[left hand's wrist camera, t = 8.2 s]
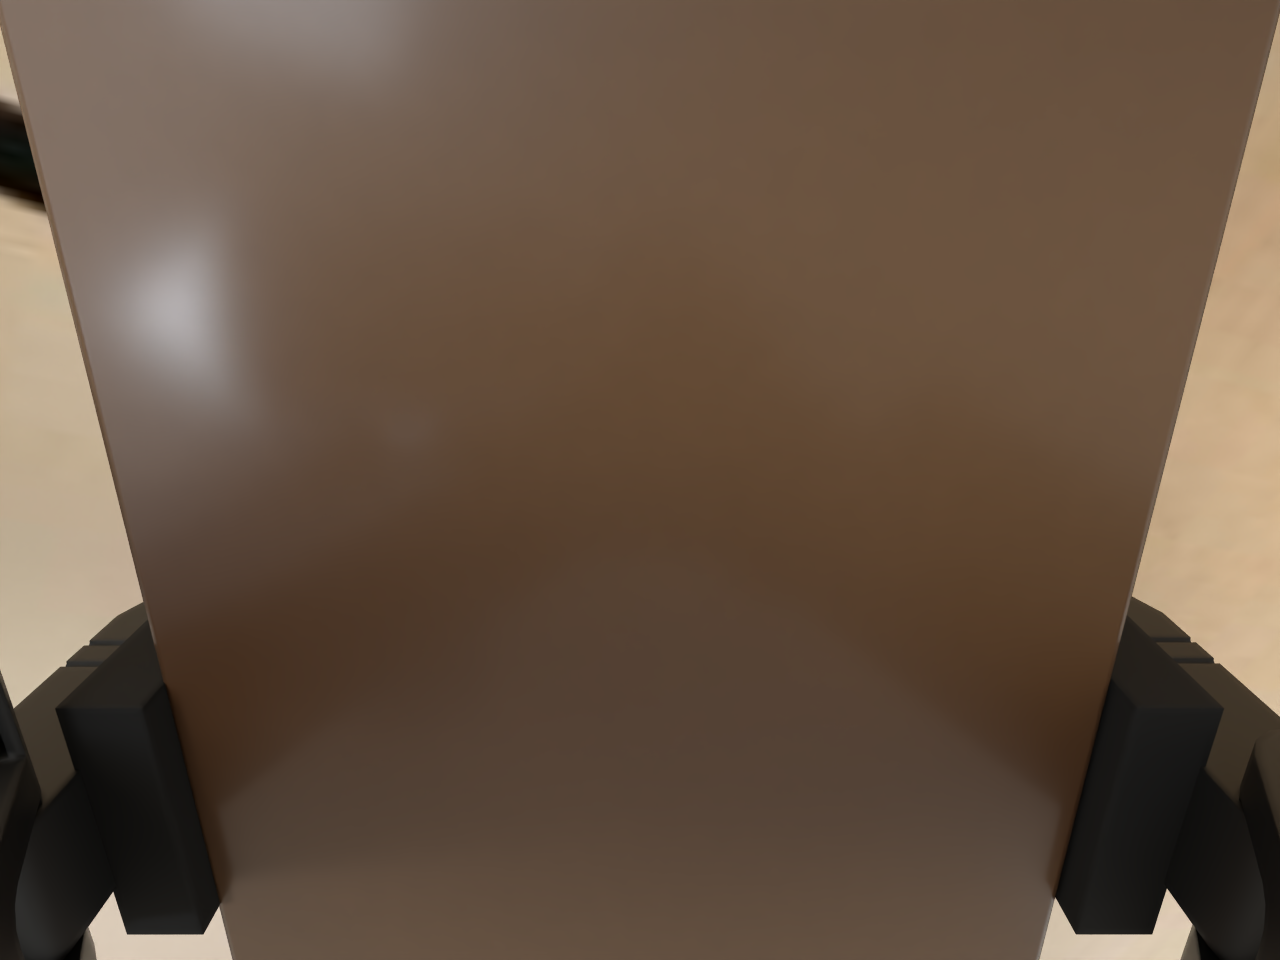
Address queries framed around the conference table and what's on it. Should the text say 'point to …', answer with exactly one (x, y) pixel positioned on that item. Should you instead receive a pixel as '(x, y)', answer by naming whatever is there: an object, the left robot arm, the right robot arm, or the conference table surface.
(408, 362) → the thick board
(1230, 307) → the conference table surface
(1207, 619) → the conference table surface
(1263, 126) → the conference table surface
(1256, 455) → the conference table surface
